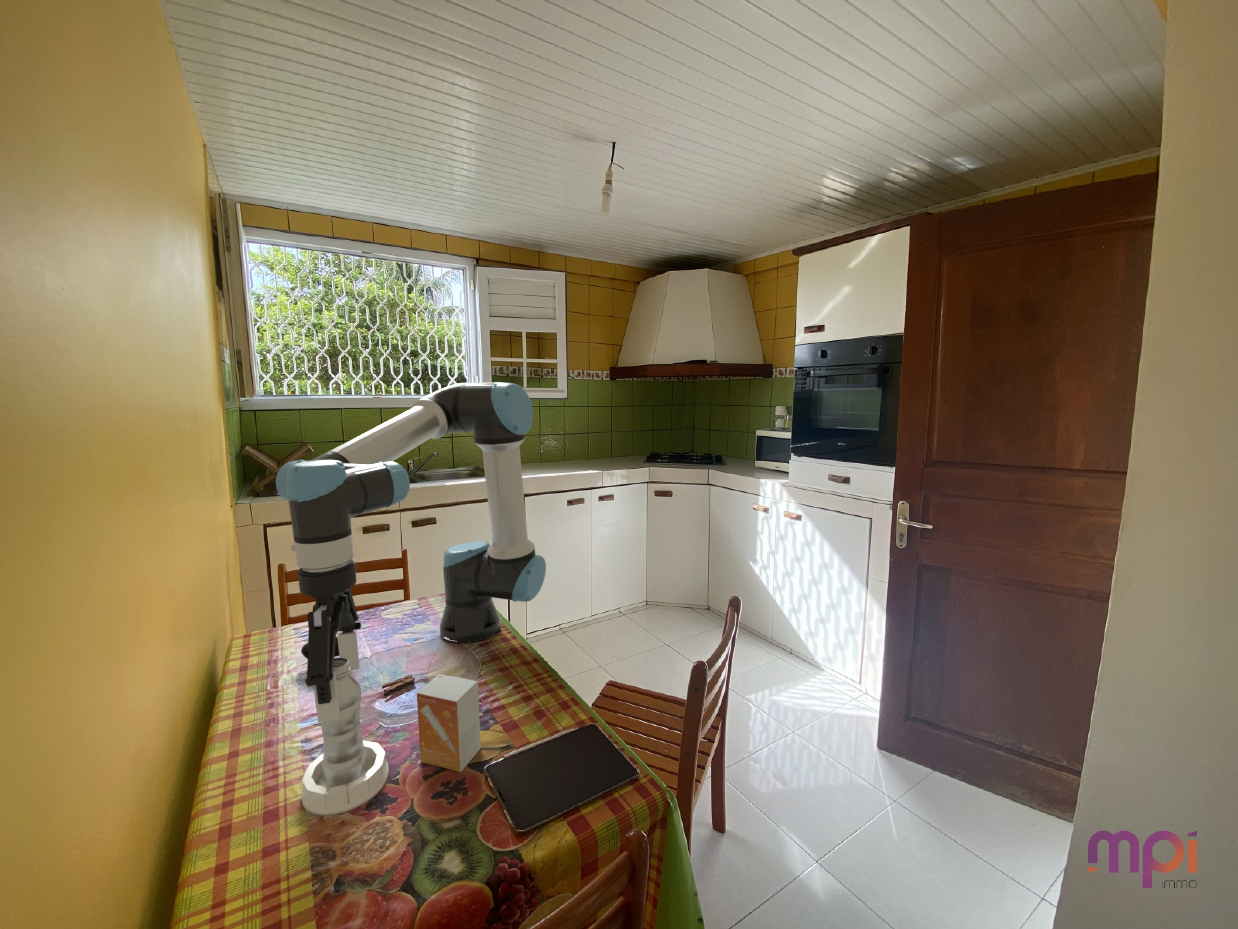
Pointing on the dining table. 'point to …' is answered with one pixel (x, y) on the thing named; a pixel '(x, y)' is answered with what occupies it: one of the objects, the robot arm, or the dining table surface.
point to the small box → (449, 722)
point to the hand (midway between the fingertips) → (340, 692)
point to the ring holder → (344, 797)
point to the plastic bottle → (344, 732)
